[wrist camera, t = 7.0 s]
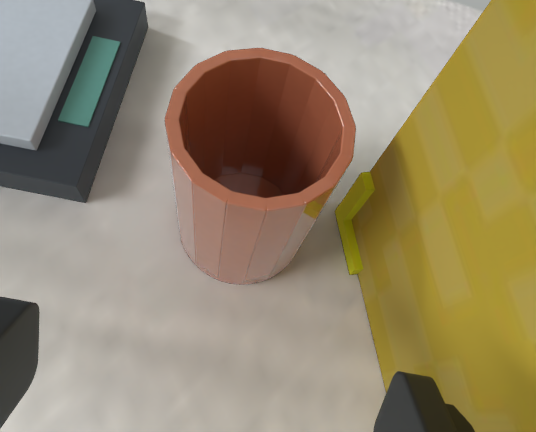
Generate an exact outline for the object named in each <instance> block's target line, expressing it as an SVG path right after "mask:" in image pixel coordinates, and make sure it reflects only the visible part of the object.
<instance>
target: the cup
mask: <svg viewBox="0 0 536 432" xmlns="http://www.w3.org/2000/svg"><path fill="white" fill-rule="evenodd" d="M165 127H166V135H167V142H168V150H169V158H170V165H171V173H172V180H173V188H174V196H175V203H176V211H177V218H178V225H179V230H180V236H181V242H182V244H183V246H184V249H185V251H186V253H187V254H188V256H189V258H190V259H191V260H192V261H193V263H194V264H195V265H196V266H197V267H198V268H199V269H200V270H202V271H203V272H205V273H206V274H207V275H209V276H211V277H213V278H215V279H217V280H220V281H223V282H227V283H231V284H253V283H258V282H262V281H265V280H267V279H269V278H271V277H273V276H275V275H276V274H278V273H279V272H281V271H282V270H283V269H284V268H285V267H286V266H287V265H288V264H289V263H290V262H291V260H292V259H293V257H294V256H295V254H296V252H297V251H298V249H299V248H300V246H301V244H302V243H303V241H304V239H305V238H306V236H307V234H308V233H309V231H310V229H311V228H312V226H313V224H314V223H315V221H316V219H317V218H318V216H319V214H320V213H321V211H322V209H323V208H324V206H325V204H326V203H327V201H328V199H329V198H330V196H331V194H332V193H333V191H334V189H335V188H336V186H337V184H338V183H339V181H340V179H341V178H342V176H343V174H344V173H345V171H346V169H347V168H348V166H349V164H350V163H351V161H352V158H353V153H354V143H355V132H356V126H355V123H354V120H353V117H352V114H351V112H350V109H349V106H348V103H347V100H346V98H345V96H344V95H343V94H342V93H341V92H340V90H339V89H338V88H337V87H336V86H335V85H334V84H333V82H332V81H331V80H330V79H329V78H328V77H327V76H326V74H325V73H323V72H322V71H321V70H319V69H317V68H316V67H314V66H312V65H310V64H309V63H307V62H305V61H303V60H302V59H300V58H298V57H296V56H293V55H292V54H287V53H283V52H278V51H273V50H269V49H264V48H251V49H240V50H229V51H224V52H222V53H220V54H218V55H216V56H214V57H211V58H209V59H207V60H205V61H203V62H200V63H198V64H197V65H195V66H194V67H193V68H192V69H191V70H190V71H189V72H188V74H187V75H186V76H185V77H184V78H183V79H182V80H181V81H180V82H179V83H178V84H177V85H176V87H175V88H174V90H173V92H172V96H171V99H170V102H169V106H168V109H167V112H166V116H165Z"/></svg>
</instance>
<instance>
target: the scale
mask: <svg viewBox="0 0 536 432" xmlns="http://www.w3.org/2000/svg"><path fill="white" fill-rule="evenodd" d="M147 29H148V23H147V16H146V9H145V3H144V2H140V1H135V0H0V186H2V187H7V188H12V189H18V190H23V191H28V192H33V193H38V194H43V195H48V196H53V197H58V198H64V199H69V200H74V201H79V202H84V203H86V200H87V198H88V195H89V192H90V189H91V186H92V184H93V181H94V178H95V175H96V172H97V169H98V167H99V164H100V161H101V158H102V155H103V153H104V150H105V147H106V144H107V141H108V138H109V136H110V133H111V130H112V127H113V124H114V122H115V119H116V116H117V113H118V110H119V107H120V105H121V102H122V99H123V96H124V93H125V91H126V88H127V85H128V82H129V79H130V76H131V74H132V71H133V68H134V65H135V62H136V60H137V57H138V54H139V51H140V48H141V45H142V43H143V40H144V37H145V34H146V31H147Z"/></svg>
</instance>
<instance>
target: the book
mask: <svg viewBox="0 0 536 432" xmlns="http://www.w3.org/2000/svg"><path fill="white" fill-rule="evenodd" d="M335 214H336V219H337V223H338V227H339V232H340V236H341V240H342V245H343V249H344V253H345V257H346V262H347V266H348V270H349V275H353V274H358V277H359V281H360V285H361V289H362V294H363V298H364V302H365V306H366V310H367V315H368V319H369V323H370V327H371V331H372V335H373V340H374V344H375V348H376V352H377V356H378V361H379V365H380V369H381V373H382V377H383V381H384V386H385V390H386V393H387V390H388V388H389V385H390V383H391V380H392V378H393V376H394V374H395V373H396V372H397V371H401V372H406V373H412V374H417V375H423V376H428V377H431V378H433V379H434V381H435V383H436V385H437V387H438V389H439V391H440V394H441V396H442V398H443V400H444V402H445V404H451V405H454V406H455V407H456V408H457V410H458V411H459V412H460V413H461V414H462V415H463V416H464V417H465V418H466V420H467V421H468V422H469V423H470V424H471V425H472V427H473V429H474V431H475V432H536V0H491V2H490V3H489V4H488V6H487V7H486V8H485V10H484V11H483V13H482V14H481V16H480V17H479V18H478V20H477V21H476V23H475V24H474V25H473V27H472V28H471V30H470V31H469V32H468V34H467V35H466V37H465V38H464V40H463V41H462V42H461V44H460V45H459V47H458V48H457V49H456V51H455V52H454V54H453V55H452V57H451V58H450V59H449V61H448V62H447V64H446V65H445V66H444V68H443V69H442V71H441V72H440V73H439V75H438V76H437V78H436V79H435V81H434V82H433V83H432V85H431V86H430V88H429V89H428V90H427V92H426V93H425V95H424V96H423V97H422V99H421V100H420V102H419V103H418V105H417V106H416V107H415V109H414V110H413V112H412V113H411V114H410V116H409V117H408V119H407V120H406V122H405V123H404V124H403V126H402V127H401V129H400V130H399V131H398V133H397V134H396V136H395V137H394V138H393V140H392V141H391V143H390V144H389V146H388V147H387V148H386V150H385V151H384V153H383V154H382V155H381V157H380V158H379V160H378V161H377V162H376V164H375V165H374V167H373V168H372V170H371V171H370V172H363V173H361V174H360V175H359V177H358V178H357V180H356V181H355V183H354V184H353V186H352V187H351V189H350V190H349V192H348V193H347V194H346V196H345V197H344V199H343V200H342V202H341V203H340V204H339V206H338V207H337V208H336V210H335Z"/></svg>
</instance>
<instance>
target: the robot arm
mask: <svg viewBox="0 0 536 432" xmlns="http://www.w3.org/2000/svg"><path fill="white" fill-rule="evenodd" d="M38 344H39V307H38V305H37V304H36V303H32V302H27V301H21V300H16V299H10V298H5V297H0V428H1V427H2V425H3V424H4V423H5V421H6V420H7V418H8V417H9V415H10V414H11V413H12V411H13V410H14V408H15V407H16V406H17V404H18V403H19V401H20V400H21V398H22V397H23V396H24V394H25V393H26V391H27V390H28V388H29V386H30V385H31V383H32V380H33V378H34V375H35V372H36V369H37V364H38ZM374 432H475V431H474V429H473V427H472V425H471V424H470V423H469V422H468V421H467V420H466V418H465V417H464V416H463V415H462V414H461V413H460V412H459V411H458V410H457V408H456V407H455V406H454V405H451V404H445V402H444V400H443V398H442V396H441V394H440V391H439V389H438V387H437V385H436V383H435V381H434V379H433V378H431V377H428V376H423V375H417V374H412V373H406V372H401V371H397V372H396V373H395V374H394V376H393V378H392V380H391V383H390V385H389V388H388V390H387V393H386V396H385V398H384V401H383V403H382V406H381V409H380V411H379V414H378V416H377V419H376V422H375V426H374Z"/></svg>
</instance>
